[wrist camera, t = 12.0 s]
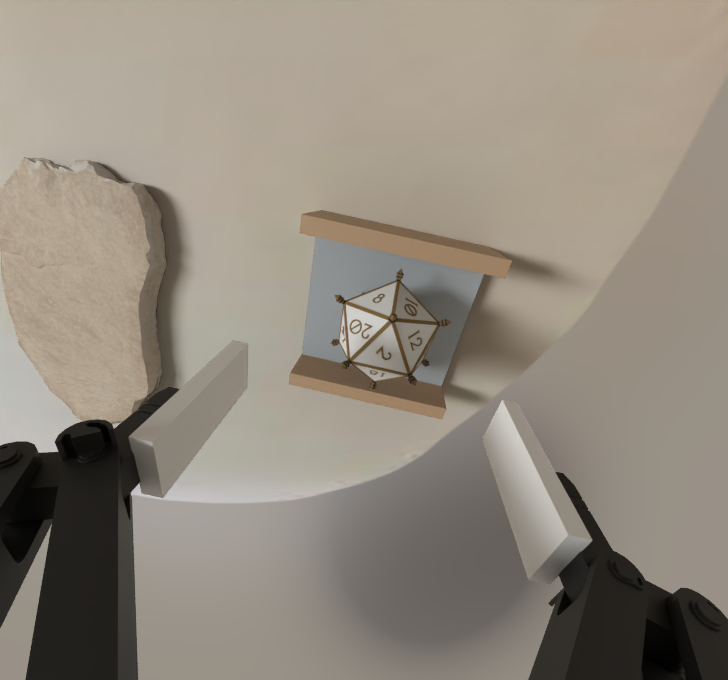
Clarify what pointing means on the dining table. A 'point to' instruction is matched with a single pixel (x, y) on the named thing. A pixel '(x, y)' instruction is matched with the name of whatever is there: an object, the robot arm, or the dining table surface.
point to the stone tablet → (84, 283)
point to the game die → (386, 332)
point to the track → (374, 269)
